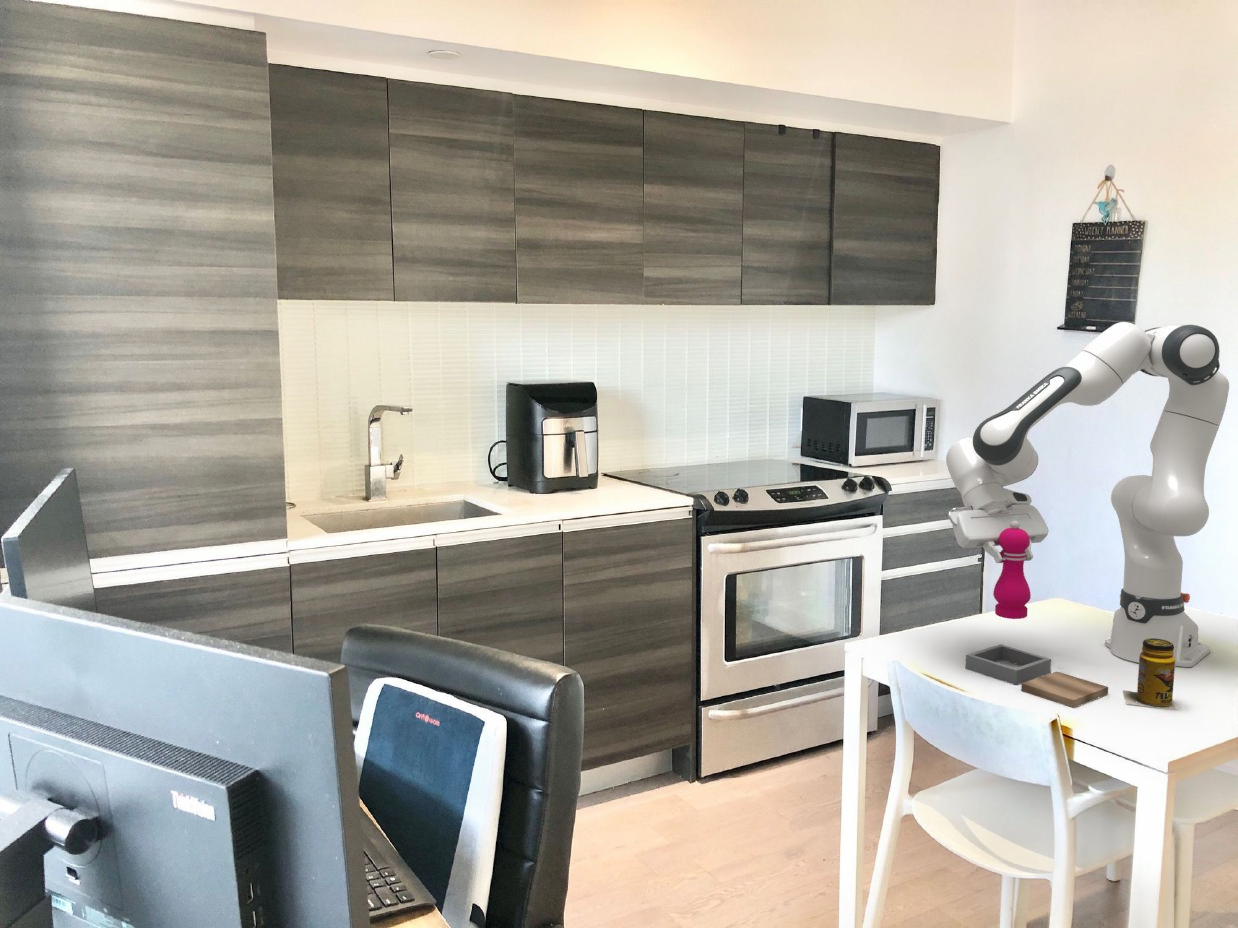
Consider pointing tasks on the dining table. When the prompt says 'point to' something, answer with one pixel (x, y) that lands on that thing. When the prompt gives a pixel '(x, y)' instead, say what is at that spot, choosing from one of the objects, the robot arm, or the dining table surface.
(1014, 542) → the pepper mill
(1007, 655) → the gray square tray
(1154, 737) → the dining table surface
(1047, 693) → the walnut board
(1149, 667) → the condiment
